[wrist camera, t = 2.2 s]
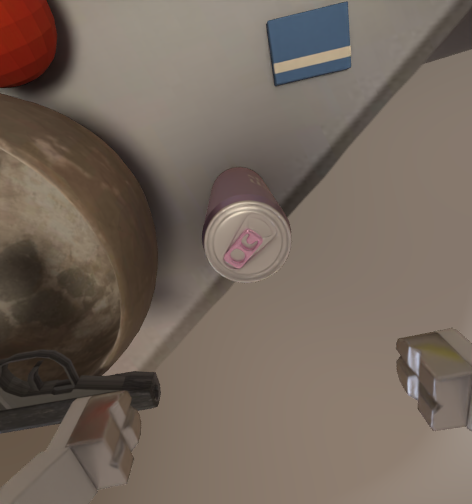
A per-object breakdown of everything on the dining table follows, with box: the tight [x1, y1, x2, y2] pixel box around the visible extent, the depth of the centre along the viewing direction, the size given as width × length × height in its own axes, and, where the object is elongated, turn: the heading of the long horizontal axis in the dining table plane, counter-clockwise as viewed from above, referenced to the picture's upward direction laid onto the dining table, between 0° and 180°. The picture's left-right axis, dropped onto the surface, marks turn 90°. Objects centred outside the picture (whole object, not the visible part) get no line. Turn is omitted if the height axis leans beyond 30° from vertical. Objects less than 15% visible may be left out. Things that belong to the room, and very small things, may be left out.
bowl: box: [0, 93, 158, 382], centre depth 26 cm, size 24×24×15 cm
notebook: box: [266, 2, 351, 86], centre depth 27 cm, size 7×5×1 cm
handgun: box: [0, 349, 161, 433], centre depth 21 cm, size 2×17×12 cm
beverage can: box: [202, 167, 291, 283], centre depth 26 cm, size 6×6×15 cm
